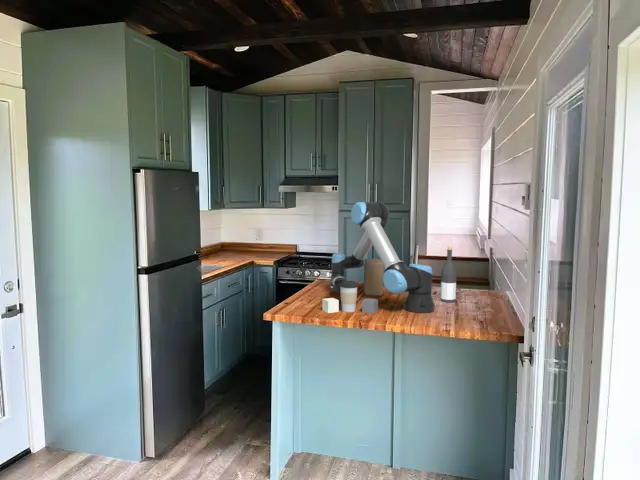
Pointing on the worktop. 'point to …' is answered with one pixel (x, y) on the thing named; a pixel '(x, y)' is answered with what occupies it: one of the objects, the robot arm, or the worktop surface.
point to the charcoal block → (370, 305)
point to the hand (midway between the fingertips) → (346, 293)
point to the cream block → (330, 305)
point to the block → (373, 277)
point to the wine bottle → (448, 280)
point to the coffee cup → (348, 295)
